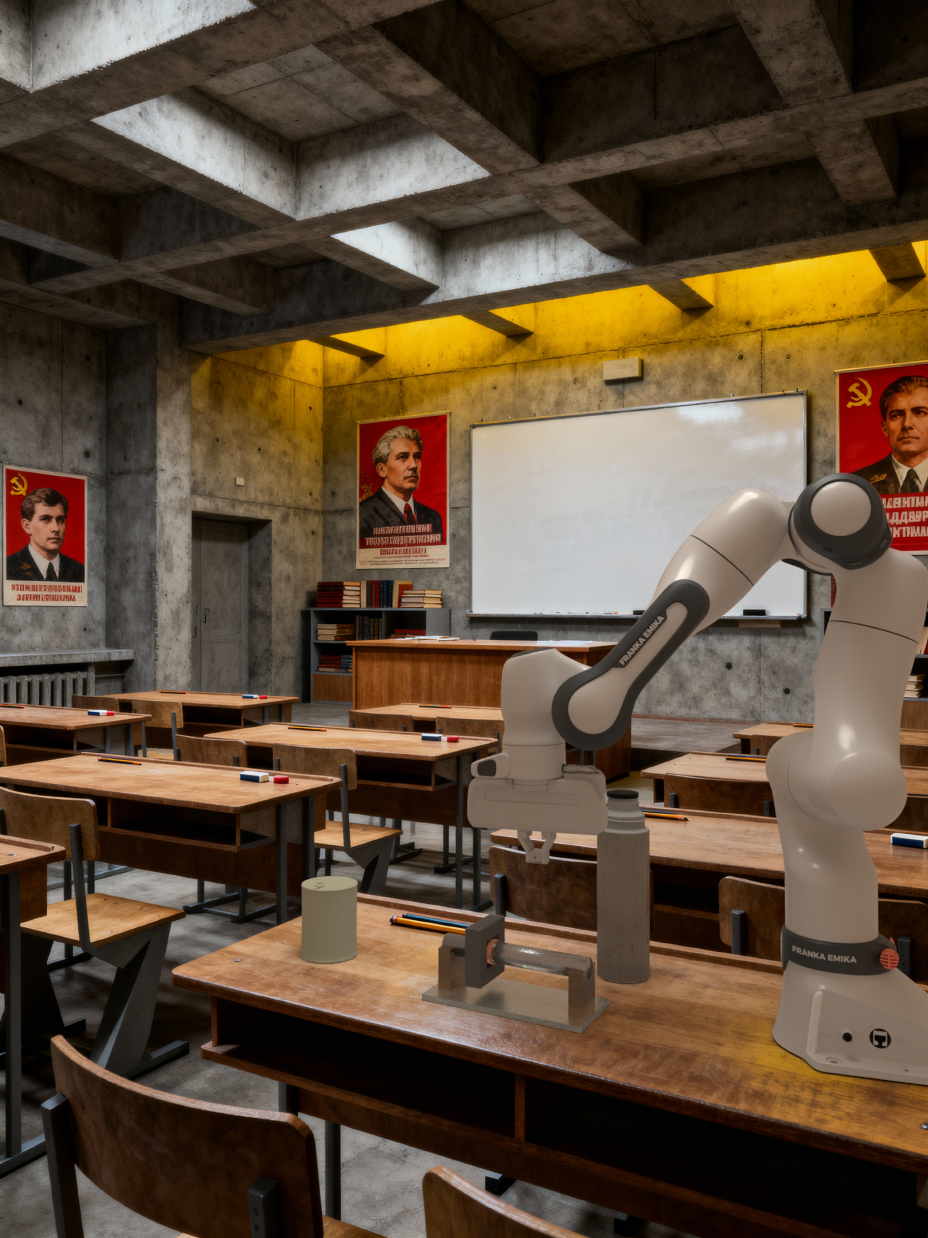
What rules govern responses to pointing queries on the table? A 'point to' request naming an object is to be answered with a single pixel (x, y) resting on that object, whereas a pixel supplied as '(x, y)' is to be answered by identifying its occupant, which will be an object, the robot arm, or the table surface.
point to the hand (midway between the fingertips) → (537, 862)
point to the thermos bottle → (623, 891)
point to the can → (329, 919)
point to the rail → (520, 985)
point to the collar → (482, 950)
